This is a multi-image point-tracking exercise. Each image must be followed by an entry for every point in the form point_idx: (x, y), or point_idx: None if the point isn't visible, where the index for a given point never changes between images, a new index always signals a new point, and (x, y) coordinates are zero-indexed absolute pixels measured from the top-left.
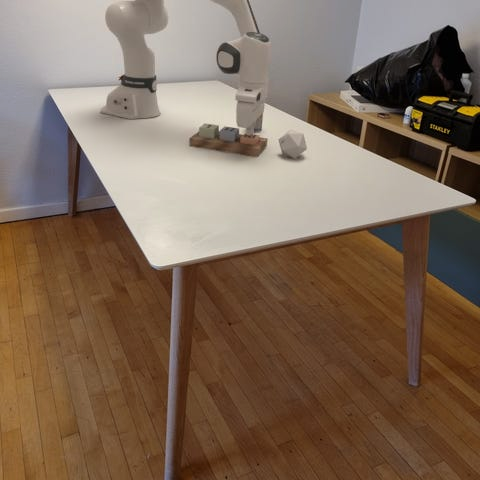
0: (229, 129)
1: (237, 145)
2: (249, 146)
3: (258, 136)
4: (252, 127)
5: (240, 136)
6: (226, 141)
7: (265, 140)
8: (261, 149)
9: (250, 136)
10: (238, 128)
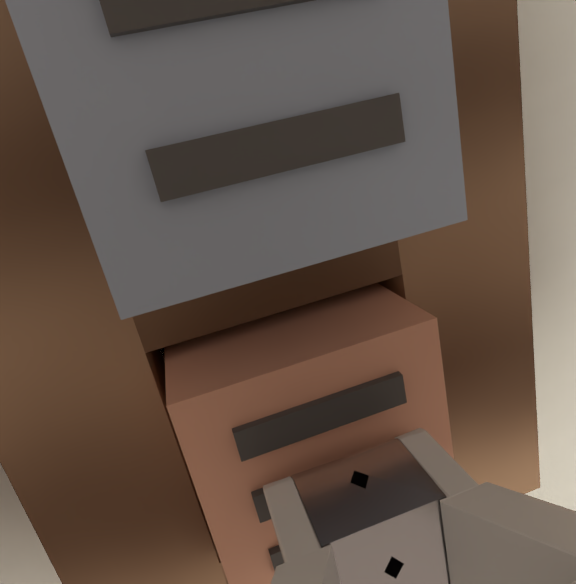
0: (254, 67)
1: (3, 411)
2: (114, 542)
3: None
4: (463, 582)
5: None
6: (35, 148)
7: None
8: None
9: None
10: (458, 206)
